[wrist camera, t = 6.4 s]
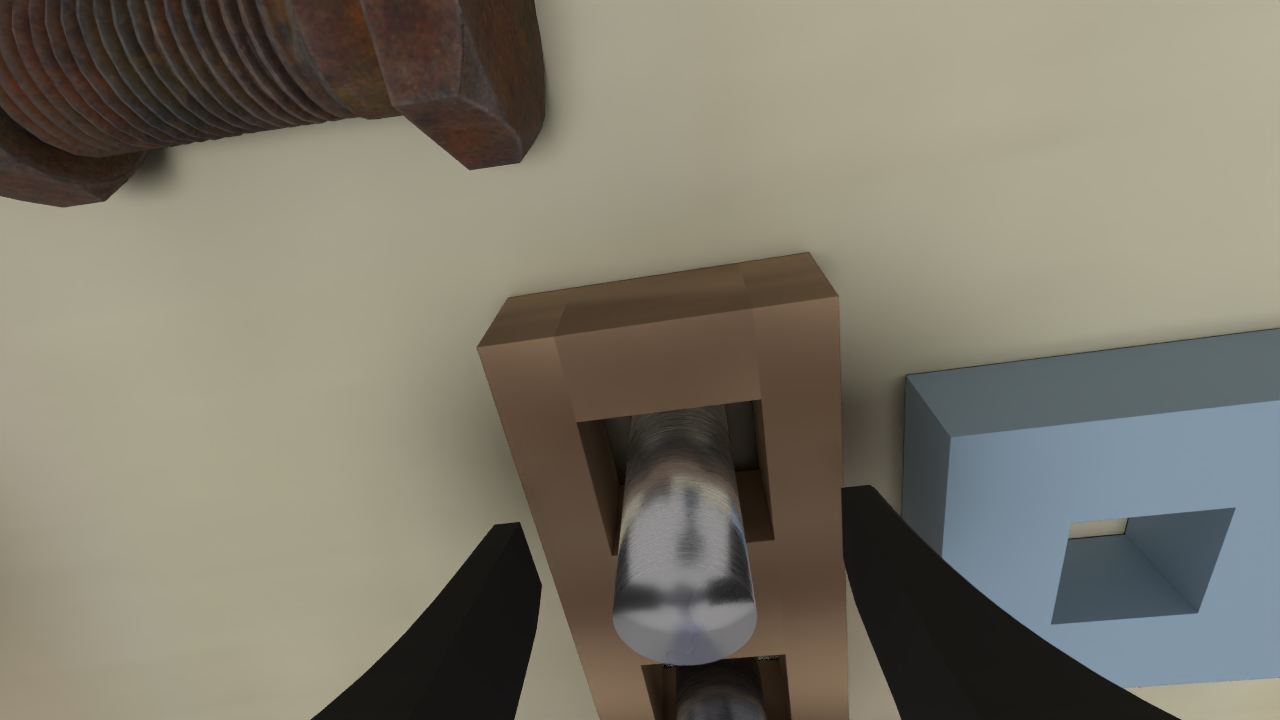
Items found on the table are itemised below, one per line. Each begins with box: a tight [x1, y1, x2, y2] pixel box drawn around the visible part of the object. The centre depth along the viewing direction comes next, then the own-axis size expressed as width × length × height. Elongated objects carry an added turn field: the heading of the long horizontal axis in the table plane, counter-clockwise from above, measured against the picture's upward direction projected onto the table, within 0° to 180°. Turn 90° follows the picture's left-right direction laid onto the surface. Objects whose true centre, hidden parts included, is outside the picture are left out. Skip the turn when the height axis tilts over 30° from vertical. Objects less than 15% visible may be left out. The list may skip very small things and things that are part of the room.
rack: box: [477, 253, 849, 720], centre depth 19 cm, size 18×8×3 cm, turn 10°
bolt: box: [0, 0, 545, 207], centre depth 12 cm, size 6×5×15 cm
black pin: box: [676, 656, 767, 720], centre depth 19 cm, size 3×3×6 cm
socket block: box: [902, 329, 1280, 688], centre depth 17 cm, size 10×10×3 cm
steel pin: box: [612, 404, 757, 665], centre depth 15 cm, size 3×3×7 cm
